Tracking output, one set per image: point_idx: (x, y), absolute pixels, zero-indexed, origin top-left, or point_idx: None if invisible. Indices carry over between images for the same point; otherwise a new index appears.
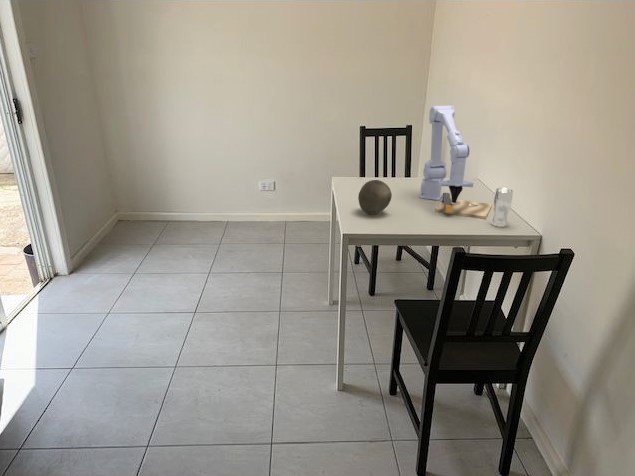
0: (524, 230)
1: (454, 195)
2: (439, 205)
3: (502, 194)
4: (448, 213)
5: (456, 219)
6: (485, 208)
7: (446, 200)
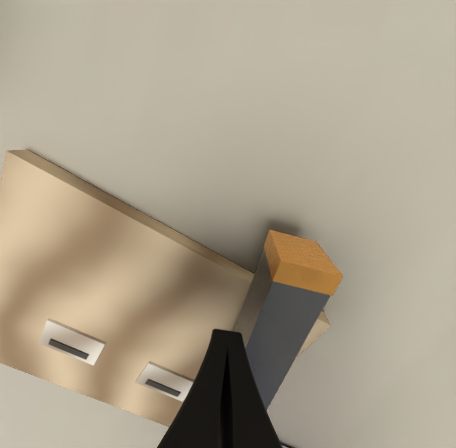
0: None
1: (239, 419)
2: None
3: None
4: None
5: (245, 167)
6: (7, 300)
7: (271, 382)
